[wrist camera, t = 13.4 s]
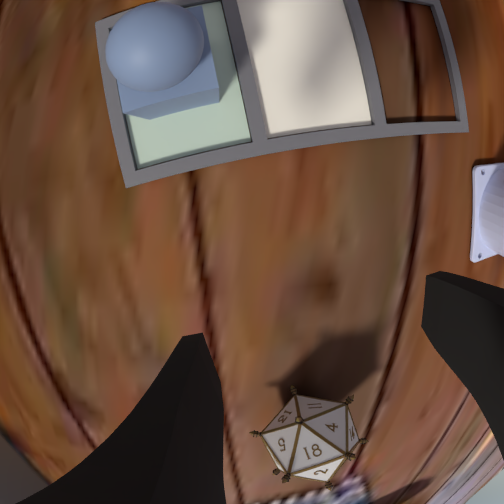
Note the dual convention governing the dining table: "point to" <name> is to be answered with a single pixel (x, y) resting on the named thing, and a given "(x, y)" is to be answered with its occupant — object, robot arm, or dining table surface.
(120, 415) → the dining table surface
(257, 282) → the dining table surface
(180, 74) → the pawn
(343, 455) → the game die
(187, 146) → the game board
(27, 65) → the dining table surface
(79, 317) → the dining table surface
